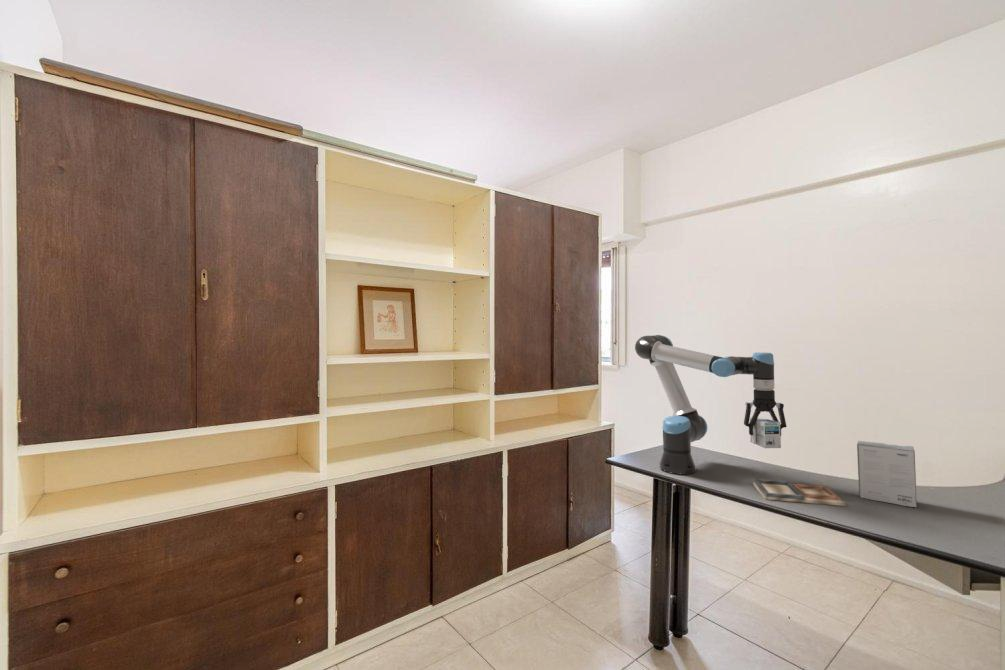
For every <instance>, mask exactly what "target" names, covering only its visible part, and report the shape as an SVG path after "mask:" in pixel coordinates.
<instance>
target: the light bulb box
mask: <svg viewBox="0 0 1005 670" xmlns="http://www.w3.org/2000/svg"><path fill="white" fill-rule="evenodd" d="M751 419H752V417H750V419H749V422H750V421H751ZM780 424H781V422H780V421H779V422H777V421H774V420H773V419H770V418H767V417H758V418H757V420H756V422H755V424H754V428H755V432H756V444H755V445H757V446H760V447H762V448H764V449H781V448H782V440H781V439H782V438H781V437H782V434H781V435H780ZM750 443H752V435H750Z"/></svg>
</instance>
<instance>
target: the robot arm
mask: <svg viewBox="0 0 1005 670" xmlns="http://www.w3.org/2000/svg"><path fill="white" fill-rule="evenodd" d="M634 350H635V352H636V354H637V355H638V357H640V358H641V359H643V360H649V364H650V365H651V366H653V367H654V368H655V370H656V373H657V374H658V377H659V380H660V382H661V384H662V388H663V389H664V392H665V394H666V397H667V398H668V399H667V400H668V401H669V404H670V406H671V408H672V412H673V413H672V414H673V415H672V416H667V417H666V418H664V419H663V422H662V427H661V428H662V446H663V449H662V451H663V452H662V455H661V457H660V461H659V469H660V468H661V469H663V470H665V471H668V472H672V473H681V474H680V475H691V474H690V473H692V474H695V473H696V463H695V461H694V459H693V455H692V448H691V446H692V443H694V442H696V441H700V440H701V439H702V438H703V437H705V436H706V434H707V432H708V424H707V421H706V420H705V418H704V417H703V416H701V415H700V414H699V413H698V410H697V409H696V408H694V407H692V405H691V403H690V400H689V398H688V395H687V393H686V391H685V388H684V386H683V383H682V381H681V379H680V377H679V374H678V372H677V369H676V367H675V365H679V366H683V367H688V368H691V369H695V370H699V371H703V372H707V373H711V374H714V375H715V376H716V377H720V378H727V377H730V376H735V375H751V376H753V379H752V381H753V400H752V401H750V402H748V401H747V402H745V413H744V418H743V420H744V421H743V425H744V426H745V427H748V434H749V436H751V435H752V442H751V443H752V444H754V445H757V444H756V432H755V428H754V424H755V422H756V420H757V418H759V415H760V414H761V413H763V412H766V413H769V415H770V417H771V420H774V421H777V422H780V435H781V436H782V429H783V428H787V422H786V418H785V412H784V406H785V405H784V403H781V402H776V399H775V398H776V397H775V396H776V395H775V393H776V392H775V390H774V389H775V359H774V355H773V353H772V352H753V353H752V356H732V355H731V356H725V357H723V356H718V355H715V354H714V355H713V354H709V353H706V352H701V351H694V350H691V349H686V348H680V347H678V346H674V344H673V342H672V341H671V339H670V338H669V337H667V336H665V335H660V334H656V335H643V336H640V337H639V338H637V340H636V342H635V344H634ZM674 364H675V365H674ZM753 406H754V407H755V409H754V412H753V414H752V416H751V411H752V407H753ZM775 406H776V408H777V412H778V417H779V419H778V417H777V415H776V413H775V411H774V408H775ZM750 418H752V419H751V421H750ZM661 469H660V470H661ZM663 470H662V471H663ZM665 471H664V472H665ZM668 472H667V473H668ZM672 473H671V474H672Z"/></svg>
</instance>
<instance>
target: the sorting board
mask: <svg viewBox="0 0 1005 670" xmlns="http://www.w3.org/2000/svg"><path fill="white" fill-rule="evenodd" d="M752 485H753V486H754V488H755V489H757V491H758V492H759V493H760V495H761V496H762V497H763V498H764V500H770V501H782V502H791V503H792V502H793V503H794V502H795V503H804V504H817V505H827V506H828V505H831V506H840V507H841V506H842V507H847V503H846V502H845V501H844V500H843V499H841V498H840V497H839V496H838V495H837V494H836V493H835V492H833V490H832V489H830V488H829V487H828V486H823V485H816V484H815V485H814V484H802V483H801V484H800V483H795V484H794V483H791V482H790V481H787V480H775V479H774V480H773V479H761V478H760V479H759V478H758V479H757V478H754V481H753V483H752Z"/></svg>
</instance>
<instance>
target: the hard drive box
mask: <svg viewBox="0 0 1005 670" xmlns="http://www.w3.org/2000/svg"><path fill="white" fill-rule="evenodd" d="M856 449H857V451H856V452H857V472H858V474H857V475H858V478H857V479H858V497H859V498H862V499H867V500H871V501H876V502H877V501H878V502H883V503H889V504H893V505H898V506H903V507H911V508H914V507H915V508H918V504H917V503H918V501H917V500H918V499H917V481H916V480H917V478H916V472H917V471H916V451H915V449H914V446H912V445H903V444H893V443H886V442H885V443H884V442H874V441H865V440H857V444H856Z"/></svg>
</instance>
